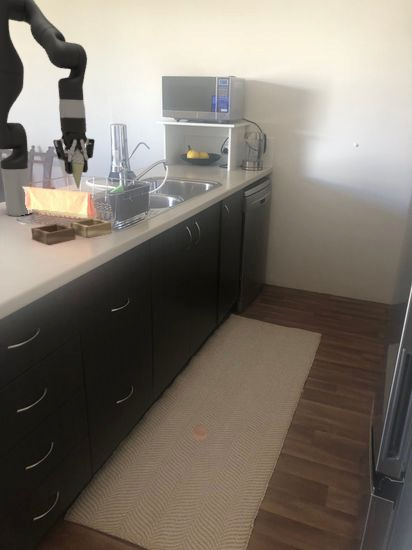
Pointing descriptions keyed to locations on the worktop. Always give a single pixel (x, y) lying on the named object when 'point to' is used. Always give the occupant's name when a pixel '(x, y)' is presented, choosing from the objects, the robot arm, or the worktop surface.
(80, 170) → the ice cream cone
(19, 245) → the worktop surface
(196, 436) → the pale pink round disc
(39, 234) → the walnut holder
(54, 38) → the robot arm
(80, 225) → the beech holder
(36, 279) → the worktop surface
